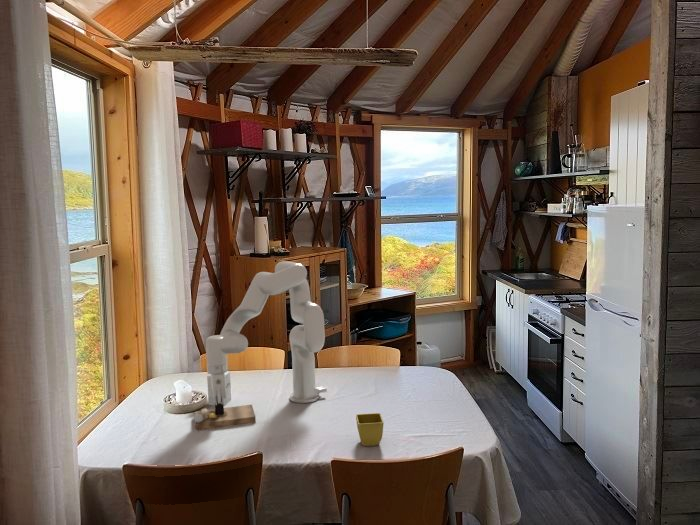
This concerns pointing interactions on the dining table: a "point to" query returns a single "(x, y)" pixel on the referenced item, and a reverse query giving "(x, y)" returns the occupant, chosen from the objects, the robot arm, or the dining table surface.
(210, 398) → the supplement box
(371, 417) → the flower pot
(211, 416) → the ball
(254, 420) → the board
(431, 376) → the dining table surface
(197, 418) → the grey ball
